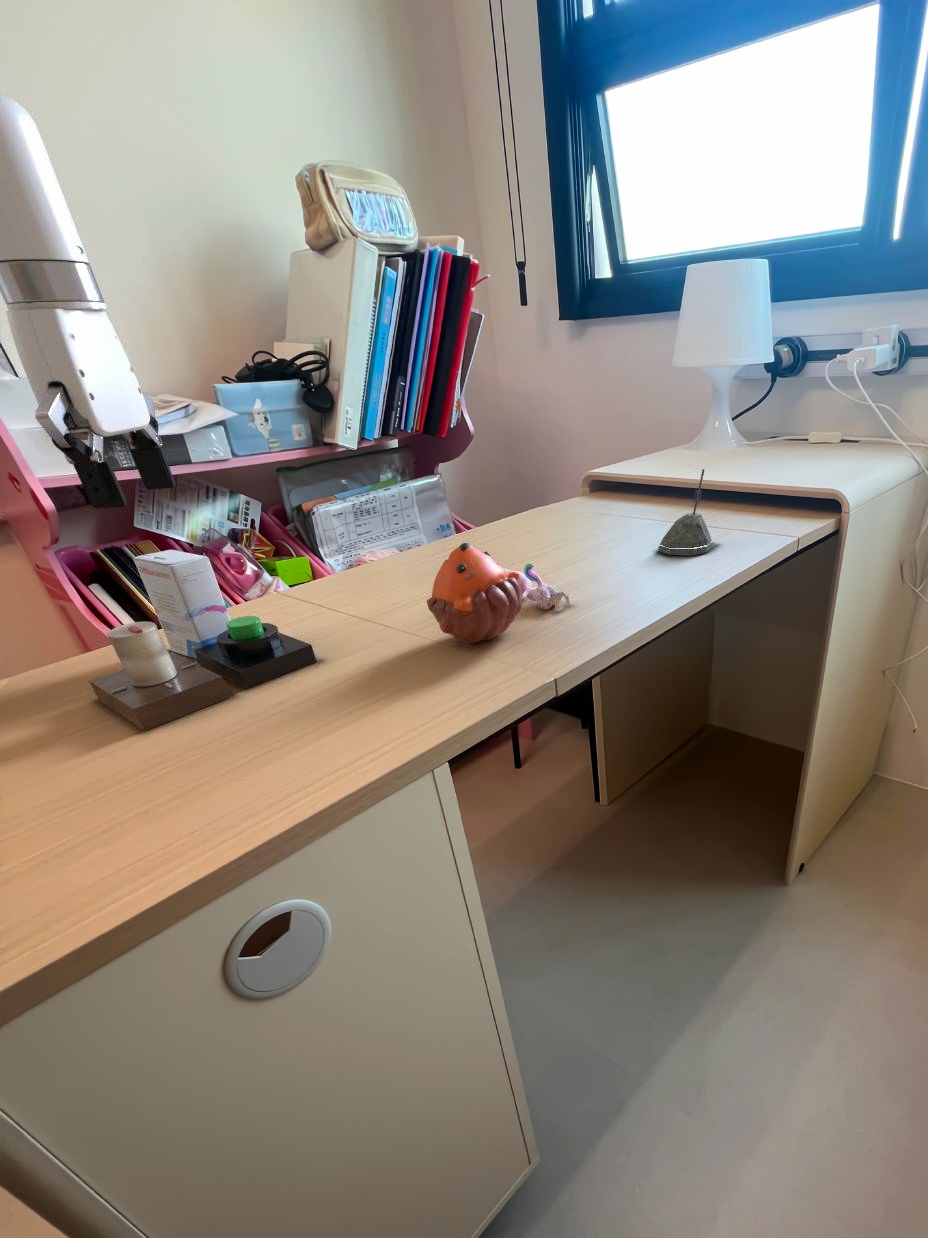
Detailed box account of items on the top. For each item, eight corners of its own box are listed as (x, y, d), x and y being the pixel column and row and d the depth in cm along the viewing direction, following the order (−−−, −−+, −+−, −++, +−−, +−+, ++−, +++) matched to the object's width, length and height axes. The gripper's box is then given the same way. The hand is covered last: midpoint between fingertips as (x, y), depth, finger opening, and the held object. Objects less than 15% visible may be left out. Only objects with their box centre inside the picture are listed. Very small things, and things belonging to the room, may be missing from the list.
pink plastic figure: (575, 611, 93) (498, 579, 99) (579, 571, 89) (498, 539, 95) (548, 625, 89) (468, 590, 95) (550, 583, 85) (467, 550, 91)
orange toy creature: (477, 616, 89) (464, 529, 82) (541, 627, 85) (533, 535, 78) (419, 648, 81) (399, 553, 74) (487, 661, 76) (472, 562, 70)
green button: (225, 637, 76) (220, 622, 75) (254, 627, 78) (249, 613, 77) (241, 643, 74) (235, 628, 73) (270, 633, 76) (265, 619, 75)
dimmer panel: (99, 700, 72) (87, 678, 70) (181, 671, 77) (172, 650, 76) (144, 731, 66) (132, 707, 64) (230, 697, 71) (221, 675, 70)
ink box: (245, 649, 82) (209, 553, 76) (208, 664, 79) (167, 565, 72) (207, 638, 86) (169, 546, 80) (170, 651, 83) (128, 556, 76)
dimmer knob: (124, 680, 70) (98, 628, 66) (166, 666, 73) (143, 615, 69) (141, 690, 68) (115, 637, 64) (184, 675, 70) (161, 623, 67)
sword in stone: (687, 559, 107) (691, 480, 100) (651, 551, 112) (652, 475, 105) (724, 546, 113) (729, 470, 106) (688, 539, 117) (691, 466, 110)
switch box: (200, 666, 78) (187, 635, 76) (269, 642, 84) (259, 612, 82) (245, 689, 73) (232, 656, 70) (317, 661, 78) (307, 629, 76)
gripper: (70, 298, 65) (145, 483, 75) (-67, 287, 51) (48, 517, 61) (144, 294, 65) (210, 480, 75) (28, 282, 51) (128, 513, 61)
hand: (137, 496), depth 68 cm, fingers open, 9 cm apart
